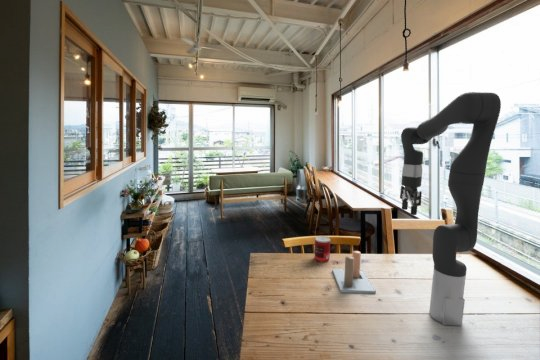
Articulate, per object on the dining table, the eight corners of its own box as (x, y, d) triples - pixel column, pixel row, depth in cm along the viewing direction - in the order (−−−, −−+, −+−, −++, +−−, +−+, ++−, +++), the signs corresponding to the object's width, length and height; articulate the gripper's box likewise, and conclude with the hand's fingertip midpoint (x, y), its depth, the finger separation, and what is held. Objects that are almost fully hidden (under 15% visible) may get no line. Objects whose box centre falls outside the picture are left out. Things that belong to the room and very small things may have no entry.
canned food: (328, 256, 146) (329, 236, 144) (330, 262, 138) (331, 241, 136) (314, 255, 146) (314, 235, 145) (314, 262, 138) (315, 241, 137)
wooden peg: (360, 280, 121) (361, 254, 119) (352, 279, 121) (353, 253, 119) (358, 276, 124) (359, 250, 123) (350, 276, 125) (351, 250, 123)
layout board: (375, 293, 111) (377, 262, 109) (340, 292, 111) (342, 261, 109) (362, 271, 128) (364, 245, 127) (332, 271, 129) (333, 244, 127)
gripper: (396, 172, 124) (393, 207, 127) (410, 177, 110) (407, 216, 113) (413, 173, 124) (410, 208, 126) (429, 177, 110) (426, 216, 112)
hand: (408, 212), depth 119 cm, fingers open, 8 cm apart
